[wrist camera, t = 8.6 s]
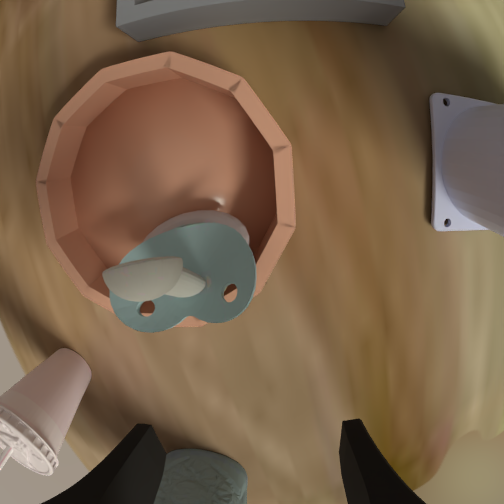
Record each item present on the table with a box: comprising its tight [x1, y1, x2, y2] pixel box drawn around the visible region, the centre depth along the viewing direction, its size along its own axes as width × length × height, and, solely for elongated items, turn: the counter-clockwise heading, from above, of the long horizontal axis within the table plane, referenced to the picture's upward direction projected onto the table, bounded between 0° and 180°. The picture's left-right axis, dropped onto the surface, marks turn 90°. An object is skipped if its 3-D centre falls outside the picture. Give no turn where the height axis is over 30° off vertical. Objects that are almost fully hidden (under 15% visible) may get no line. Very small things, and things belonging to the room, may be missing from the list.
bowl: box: [36, 51, 296, 327], centre depth 16 cm, size 14×14×3 cm
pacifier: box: [102, 210, 257, 332], centre depth 13 cm, size 7×6×6 cm
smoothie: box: [0, 348, 92, 476], centre depth 15 cm, size 6×6×14 cm
